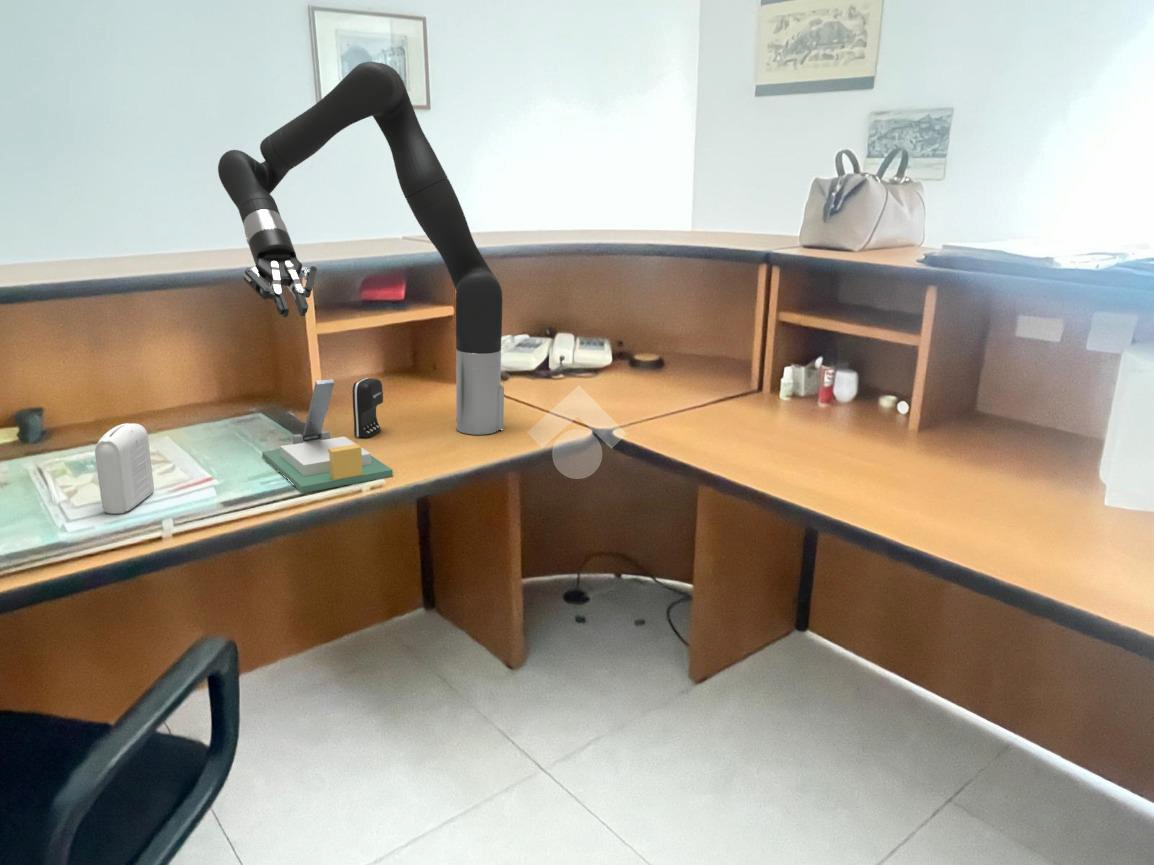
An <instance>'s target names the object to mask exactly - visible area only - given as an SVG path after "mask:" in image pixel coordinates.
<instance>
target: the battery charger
mask: <svg viewBox="0 0 1154 865" xmlns="http://www.w3.org/2000/svg"><path fill="white" fill-rule="evenodd" d="M383 402H384V392H383V382H381V380H380V379H378V378H371V377H364V378H362V379H359V380H358V381H355V382H354V384H353V386H352V410H353V412H352V414H353V429H354V430H353V432H354V437H355V438H371V437H373V436H375V435H376V434H377V433H380V432H381V430H382V428H381V425H380V424H379V422H378V418H377V407H378V406H380V404H382V403H383Z"/></svg>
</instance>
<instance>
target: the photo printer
mask: <svg viewBox="0 0 1154 865" xmlns="http://www.w3.org/2000/svg"><path fill="white" fill-rule="evenodd" d="M94 455H95V463H96V471H97V480H98V486H99V493H100V501H101V507H102V510H103V511H104V512H106V514H112V515H113V514H116V515H117V514H124V513H126V512H129V511H130V510H132V509H134V508H135V507H136V506H137V505H139V504H140V503H141V502H142V501H144V500H145V499H147V498H148V497H149V496H150V495H152V494H153V493H154V490H155V486H154V477H153V468H152V459H151V458H152V457H151V451H150V442H149V435H148V431H147V430H146V428H145V427H144V426H143V425H141V424H139V423H122V424H119V425H116V426H114V427H112V428H111V429H109V430H108V431H107V432H105V433H104V434H103V436H101V438H99V441H98V442H97V443H96V445H95V448H94Z"/></svg>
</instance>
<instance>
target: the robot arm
mask: <svg viewBox="0 0 1154 865" xmlns="http://www.w3.org/2000/svg"><path fill="white" fill-rule="evenodd" d="M403 80H404V79H402V76H401V75H400V74H399V73H398V71H397V70H395V68H394V67H392V66H390V65H388V64H386V63H383V62H376V61H365V62H361V63H359V64H357V65H356V66H355V67H354V68H352V69H351V71H349V73H347V75H345V77H344V78H342V79H341V80H340V82H339V83H337V85H336V86H334V87H333V89H332V90H331V91H329V92H328V93H327V94H326V95H325V96H323V98H321V99H320V100H319V101H318V102H316V103H315V104H314V105H312V106H311V107H309V108H308V109H307V110H306V111H304V112H303V113H302V112H301V114H299V115H298V116H296V117H294V118H293V119H292V120H290V121H288V122H287V123H285V124H284V125H283V126H281V127H279V128H278V129H277V130H275V131H274V132H272V133H270V134H269V135H268V136H266V137H264V138H263V140H261V142H260V146H259V149H260V153H261V156H262V157H263V159H264V161H263V162H259V160H256V159H255V158H253V157H252V156H251V155H249V154H248V153H246V152H244V151H242V150H239V149H231V150H227V151H226V152H225V153H224V154H222V156H220V159H219V160H218V165H217V172H218V177H219V180H220V182H221V185H222V187H223V188H224V190H225V191H226V193H227V195H228V196H229V198H230V200H231V201H232V202H233V204H234V205H235V206H236V208H237V210H238V213H239V216H240V219H241V222H242V225H243V227H244V228H243V229H244V234H245V239H246V243H247V244H248V246H249V249H250V252H251V256H252V258H253V262H254V264H255V265H254V267H253V268H251V267H246V268H245V269H244V273H243V280H244V282H245V283H246V284H248V286H249V287H251V288H252V290H254V292H256V294H257V295H258V296H260V298H261V299H262V300H268V299H269V300H272V301H273V302H274V306H275V308H276V311H277V313H278V314H279V315H281V316H282V318H287V317H288V316H289V312H290V309H289V307H288V303H287V300H286V298H285V295H284V294H283V293H282V292H283V291H282V287H281V286H285V287H286V288H287V289H288V290H289V292H290V293H292V295H293V297H294V299H295V300H294V304H295V306H296V309H297V311H298V314H299V316H300V317H305V316H306V314H307V312H308V310H309V305H308V302H307V301H308V300H307V298H308V299H309V298H310V296H311V294H312V290H313V288H314V284H315V280H316V276H317V271H318V269H317V267H316V266H313V265H312V266H310V267H307V266H303V264H302V262H300V261H299V260H298V257H297V254H296V251H295V248H294V244H293V243H292V239H291V237H290V234H289V231H288V229H287V225H286V223H285V222H284V220H283V219H282V216H281V214H280V211H279V208H278V205H277V203H276V200H275V198H274V197H273V195H271V194H272V193H273V191H275V189H276V188H277V186H278V185H279V184H280V183H281V181H283V179H284V178H285V177H286V175H287V174H288V173H289V172H290V171H291V170H292V169H294V168H295V167H297V166H299V165H300V164H302V163H303V162H305V161H306V160H307V159H309V158H310V157H312V156H314V155H315V154H316V153H317V152H319V151H320V150H321V149H322V148H323V147H324V146H325V145H326V144H327V143H328V142H329V141H330V140H332V138H333V137H335V136H336V135H337V134H338V133H340V132H341V131H343V130H344V129H346V128H348V127H349V126H351V125H353V124H355V123H357V122H360V121H362V120H364V119H367V118H369V117H373V119H374V121H375V122H376V124H377V126H378V127H379V129H380V131H381V132H382V134H383V136H384V138H385V140H386V142H387V144H388V146H389V148H390V152H391V155H392V159H393V163H394V168H395V172H396V176H397V180H398V183H399V186H400V188H401V192H402V194H403V196H404V199H405V200H406V201H407V202H406V203H407V205H408V207H409V208H410V210H411V212H412V214H413V216H414V218H415V219H416V221H417V223H418V225H419V226H420V228H421V229H422V231H423V233H425V235H426V236H427V238H428V239H429V241H430V242H431V243H432V245H433V246H434V248H435V249H436V250H437V252H438V254H439V255H440V256H441V257H440V258H442V260H443V262H444V265H445V266H446V267H445V268H446V269H447V271H448V274H449V276H450V279H451V281H452V284H453V287H454V289H455V345H456V346H455V347H456V349H455V355H456V356H455V358H456V359H455V360H456V361H455V365H456V366H455V372H456V373H455V375H456V378H455V379H456V380H455V382H456V386H455V389H456V390H455V391H456V392H455V394H456V395H455V396H456V398H455V399H456V400H455V401H456V403H455V404H456V416H455V418H456V419H455V423H456V426H455V427H456V431H458V432H460V433H463V434H465V435H466V434H467V435H475V436H476V435H479V436H480V435H490V434H495V433H497V432H499V431H498V430H501V429H503V430H504V424H505V423H504V418H505V417H504V412H505V410H504V408H505V407H504V406H505V405H504V404H505V402H504V401H505V387H504V386H503V385H502V384H501V379H502V378H501V376H502V374H501V373H502V372H501V369H502V361H501V360H502V336H503V326H502V325H503V290H502V287H501V284H500V281H499V280H498V279H497V277H496V275H495V274H494V272H493V271H492V269H490V267H489V265H488V263H487V262H486V261H485V259H484V257H483V256H482V254H481V252H480V251H479V248H478V247H477V245H476V242H475V241H474V239H473V238H474V237H473V236H472V232H471V231H470V227H469V225H468V222H467V221H468V220H467V218H466V216H465V213H464V210H463V208H462V206H461V203H460V201H459V198H458V196H457V194H456V192H455V190H454V187H453V186H452V183H451V181H450V180H449V178H448V175H447V173H446V172H445V170H444V168H443V166H442V165H441V162H440V160H439V159H438V157H437V154H436V153H435V151H434V149H433V147H432V145H431V143H430V142H429V139H428V138H427V136H426V135H425V133H424V131H423V128H422V126H421V124H420V122H419V119H418V117H417V114H416V112H415V109H414V107H413V104H412V101H411V98H410V96H409V93H408V91H407V88H406V85H405V83H404V81H403ZM300 274H302V275H303V278H304V281H306V282H305V286H302V284H301V279H300ZM263 279H264V280H265V281H266V282H267V283H268V284H267V283H266V282H265V281H264V280H263ZM496 431H497V432H496ZM501 431H502V430H501ZM494 432H495V433H494Z"/></svg>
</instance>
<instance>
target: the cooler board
mask: <svg viewBox="0 0 1154 865" xmlns="http://www.w3.org/2000/svg"><path fill="white" fill-rule="evenodd" d="M291 436H292V437H291V438H292V444H286V445H281V446H280V448H277V449H270V450H265V451H261V453H262V454H261V455H262V456H261V458H262V459H263V458H264V459H265V460H266V461H267V462H266V461H265V460H264V459H263V460H264V461H265V462H266V463H267V464H269V465H270V464H271V465H272V466H273V467H274V468H275V469H277V470H278V471H279V472H280V473H281V474H282V475H284V476H285V477H286V478H288V479H289V480H290V481H291V482H292V483H293V484H294V485H295V486H296V487H295V486H294V487H295V488H296V489H297V490H298V492H301V494H306V493H311V492H316V491H321V490H327V489H332V488H338V487H342V486H343V487H344V486H347V485H353V484H360V483H364V482H369V481H374V480H380V479H381V480H382V479H384V478H391V477H393V476H394V474H393V473H394V472H393V469H392V468H391V467H389V466H388V465H386V464H384V463H383V462H382V461H380V460H378V459H377V458H376V457H375V456H372V453H370V452H369V451H367V450H366V449H364V448H363V447H362V446H360V445H359V444H357V443H355V442H354V441H352V440H351V439H349V438H348V437H346V436H344V435H343V436H339V437H332V438H330V436H331V433H330V431H328V430H326V429H325V430H324V429H323V430H322V431H321V435H320V436H321V438H320V439H318V440H312V441H305V442H303V436H302V434H301V433H298V434H297V433H296V434H292V435H291ZM271 465H270V466H271ZM272 466H271V467H272ZM273 467H272V468H273ZM274 468H273V469H274ZM275 469H274V470H275ZM277 470H276V471H277ZM278 471H277V472H278ZM279 472H278V473H279ZM280 473H279V474H280ZM281 474H280V475H281ZM282 475H281V476H282ZM286 478H285V479H286Z"/></svg>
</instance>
